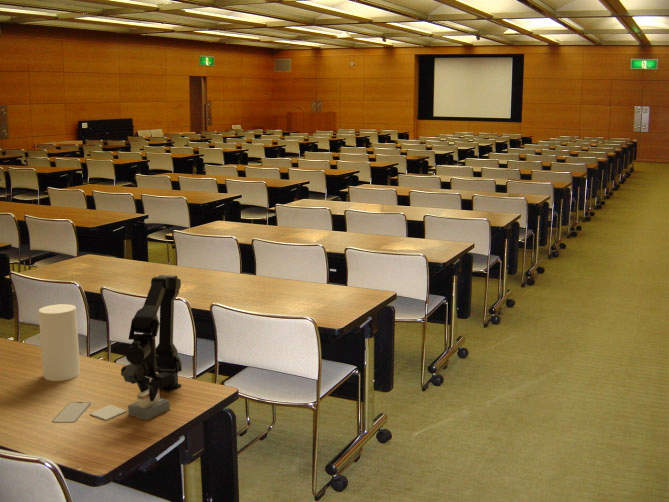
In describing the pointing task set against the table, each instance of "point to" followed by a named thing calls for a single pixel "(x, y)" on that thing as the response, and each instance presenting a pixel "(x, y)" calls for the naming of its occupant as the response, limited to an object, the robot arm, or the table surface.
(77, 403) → the smartphone
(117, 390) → the table surface
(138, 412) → the dispenser
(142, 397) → the cream rectangular block
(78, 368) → the cylinder
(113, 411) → the mat
